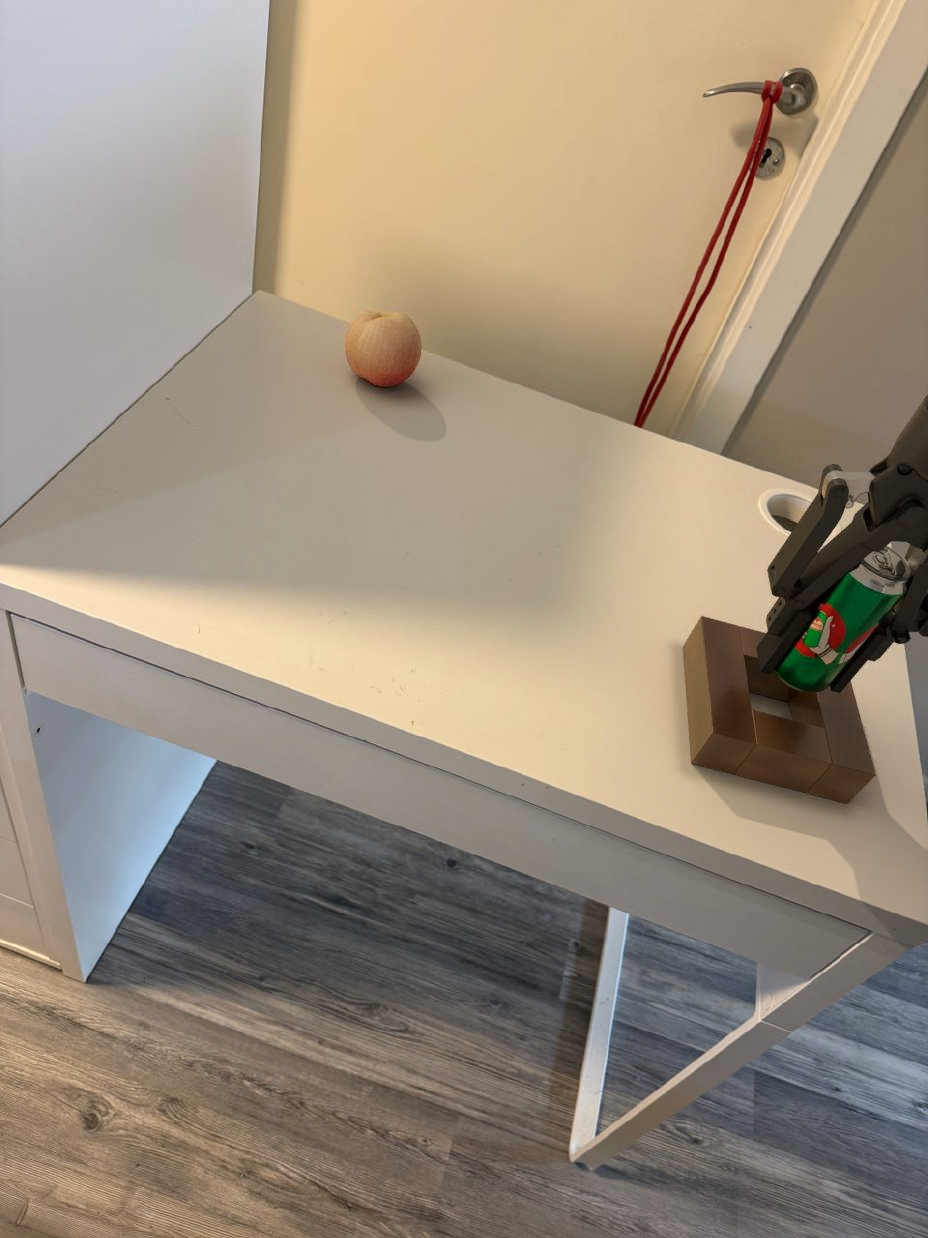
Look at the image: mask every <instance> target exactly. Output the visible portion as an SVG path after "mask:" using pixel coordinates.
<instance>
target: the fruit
mask: <svg viewBox="0 0 928 1238" xmlns="http://www.w3.org/2000/svg"><path fill="white" fill-rule="evenodd" d="M422 348H423V346H422V339H421V335H420V332H419V329H418V328H417V325H416V324H415V323H414V321H413V319H412V318H411V317H410V316H409V315H407V314H406V313H403V312H400V311H377V312H376V311H375V312H374V311H365V312H362V313H360V314H358V315H357V317H356V318H354V319H353V320H352V322H351V324H350V325H349V327H348V329H347V331H346V334H345V341H344V351H345V358H346V360H347V364H348V366H349V367H350V369H351V371H352V373H354V374H355V375H356V376H358V377H360V378H361V379H365V380H366V381H368V382H369V383H370V384H371V385H374V386H378V387H381V388H382V387H383V388H384V387H385V388H387V387H388V388H389V387H395V386H398V385H399V384H402V383H404V382H405V381H407V379H409V378H410V377H411V376H412V375H413V374H414V372H415V370H416V369H417V367H418V366H419V363H420V361H421V357H422Z"/></svg>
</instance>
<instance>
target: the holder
mask: <svg viewBox="0 0 928 1238" xmlns="http://www.w3.org/2000/svg"><path fill="white" fill-rule="evenodd" d="M766 633H767V632H763V631H760V630H757V629H753V628H749V627H746V626H742V625H737V624H734V623H730V622H726V621H723V620H718V619H715V618H711V617H707V616H703V615H700V617H699V618H698V620H697V622H696V624H695V626H694V628H692V630H691V632H690V634H689V635H688V637H687V638H686V640H685V642H684V644H683V646H682V651H683V652H682V653H683V667H684V668H683V670H684V682H685V695H686V709H687V711H686V712H687V723H688V725H687V726H688V736H689V751H690V752H689V753H690V763H691V764H692V765H696V766H701V767H704V768H708V769H712V770H715V771H720V772H723V773H727V774H731V775H735V776H738V777H743V778H746V779H750V780H755V781H759V782H762V783H765V784H769V785H774V786H777V787H781V788H786V789H788V790H793V791H797V792H801V793H805V794H809V795H813V796H817V797H820V798H823V799H824V798H825V799H827V800H828V799H829V800H832V801H836V802H840V803H844V804H850V802H852V800H853V799H854V798H856V796H857V795H858V794H859V793H860V792H861V791H863V789H864V788H865V787H866V786H867V785H868V784H869V783H870V782H872V780H873V779H874V778H875V777H876V776H877V774H876V770H875V766H874V763H873V758H872V754H871V752H870V748H869V744H868V740H867V736H866V733H865V729H864V725H863V720H862V717H861V714H860V710H859V706H858V702H857V698H856V694H855V691H854V687H853V684H852V680H851V681H850V682H849V683H848V684H847V686H846V687H845V688H844V689H843V690H842V692H841V693H837V692H834V691H831V689H830V686H829V687H828V688H827V689H826V690H824V691H821V692H814V693H807V692H801V691H798V690H795V689H793V688H791V687H789V686H788V685H786V684H785V683H784V682H782V681H781V680H780V679H779V678H778V677H777V675H776V674H775V672H774V671H773V670H772V672H771V673H770V674H766V673H762V672H760V667H759V661H758V654H757V648H756V647H757V646H758V644H759V643H760V641H761V640H762V639H763V637H764V636H765V634H766ZM750 693H753V694H756V695H760V696H764V697H767V698H772V699H775V700H779V701H782V702H787V703H789V709H790V713H791V718H792V719H790V718H786V717H783V716H779V715H775V714H772V713H767V712H764V711H760V710H756V709H752V702H751V695H750Z"/></svg>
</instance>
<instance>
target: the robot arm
mask: <svg viewBox="0 0 928 1238" xmlns="http://www.w3.org/2000/svg"><path fill="white" fill-rule="evenodd" d="M821 472H822V473H821V477H820V481H819V486H818V490H817V493H816V495H815V496H814V498H813V499H812V501H811V502H810V504H809V506H808V507H807V509H806V510H805V512H804V513H802V514H803V515H801V518H800V519H799V521H798V522H797V524H796V525H795V526H794V528H793V529H792V531H791V532H790V534H788V536H787V538H786V540H785V541H784V543H783V544H782V545H781V547H780V548H779V550H778V551H777V553H776V555H775V556H774V558H773V559H772V561H771V562H770V563H769V565H768V566H767V568H766V571H767V577H768V583H769V587H770V592H771V595H772V596H773V597H775V598H777V600H776V601H775V603H774V604H773V606H772V607H771V608H770V610H769V611H768V613H767V614H766V617H765V622H766V628H767V631H766V632H765V633H766V634H765V636H764V637H763V639H762V640H761V641H760V643H759V644H758V646H757V647H756V648H757V654H758V661H759V667H760V672H762V673H766V674H770V673H771V672H772V670H773V669H774V668H775V666H776V665H777V664H778V662H779V661H780V659H781V658H782V657H783V655H784V654H785V653H786V651H787V650H788V649H789V647H790V646H791V645H792V643H793V642H794V640H795V639H796V638H797V636H798V635H799V634H800V632H801V631H802V630H803V628H804V627H805V625H806V624H807V623H808V621H809V620H810V619H811V617H812V613H811V609H810V605H809V604H811V603H812V602H813V601H814V600H815V599H817V598H818V597H819V596H820V595H821V594H823V593H824V592H825V591H826V590H827V589H829V588H830V587H831V586H832V585H833V584H834V583H836V582H837V581H838V580H839V579H840V578H842V577H843V576H844V575H845V574H846V573H848V572H849V571H850V570H851V569H852V568H853V567H855V566H856V565H857V564H858V563H859V562H861V561H862V560H863V559H864V558H865V557H867V556H868V555H869V554H870V553H871V552H879V551H881V550H882V549H883V548H885V547H886V546H889V544H891V543H892V542H896V543H897V542H900V543H907V544H909V546H908V548H907V550H906V553H905V555H904V558H905V559H906V560H907V562H908V565H909V568H910V570H911V573H912V576H911V578H910V579H909V580H908V591H907V592H906V593H905V595H904V596H903V597H902V598H901V600H900V601H899V602H898V603H897V604H896V606H895V607H894V608H893V609H892V610H891V612H890V613H889V614H888V615H887V617H886V618H885V619H884V620H883V621H882V623H881V624H880V625H879V626H878V628H877V629H876V630H875V631H874V632H873V634H872V635H871V636H870V637H869V638H868V640H867V641H866V642H865V643H864V645H863V646H862V647H861V648H860V649H859V651H858V652H857V653H856V654H855V655H854V657H853V658H852V659H851V660H850V662H849V663H848V664H847V665H846V666H845V668H844V669H843V670H842V671H841V673H840V674H839V675H838V676H837V677H836V679H835V680H834V681H833V682H832V683H831V685H830V689H831V691H834V692H837V693H841V692H842V690H843V689H844V688H845V687H846V686H847V684H848V683H849V682H850V681H851V682H852V679H854V678H855V677H856V675H857V674H858V673H859V672H860V670H861V669H862V668H863V667H864V666H865V664H866V663H867V662H868V661H869V662H876V661H878V660H879V659H881V658H882V656H884V655H885V653H887V651H888V650H889V649H890V648H891V647H892V645H893V644H897V645H904V644H907V643H909V642H911V639H912V637H911V635H910V633H918V634H919V635H920V636H921V637H924V638H928V394H926V395H925V396H924V398H923V399H922V401H921V402H920V404H919V405H918V406H917V408H916V410H915V411H914V413H913V414H912V416H911V417H910V419H909V420H907V422H906V424H905V425H904V427H903V429H901V431H900V433H899V434H898V435H897V438H896V440H895V442H894V444H893V446H892V448H891V450H890V452H889V453H888V455H886V457H884V458H883V459H881V460H879V461H878V462H877V463H875V464H873V465H872V467H870V468H869V470H868V471H843V468H842V466H840V464H837V463H831V464H827V465H826V466H825V467H824V468H823V469H822V471H821ZM863 494H867V500H868V501H867V502H866V503H865V504H864V505H863V506H861V508H859V509H858V510H857V511H856V512H855V513H854V515H853V517H852V520H851V522H850V523H849V524H847V526H845V527H844V528H843V529H842V530H840V532H838V533H837V535H835V536H834V537H833V538H832V539H831V540H830V541H829V542H827V543H826V544H825V542H826V541H827V540H828V538H829V537H830V535H831V534H832V533H833V531H834V530H835V529H836V527H837V526H838V524H839V523H840V521H841V520H842V518H843V515H844V512H845V511H846V510H850V509H852V508H853V507H854V505H855V503H856V501H857V499H858V498H859V497H860V496H861V495H863ZM824 544H825V545H824ZM823 545H824V546H823Z"/></svg>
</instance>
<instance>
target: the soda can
mask: <svg viewBox="0 0 928 1238" xmlns="http://www.w3.org/2000/svg"><path fill="white" fill-rule="evenodd" d="M911 576H912V573H911V570H910V568H909V565H908V562H907V560H906V559H905V556H903V555H902V554H901V553H899V552H898V551H897V550H895V549H894V548H893V547H890V546H889V545H887V546H886V547H885V548H883V549H882V550H881V551H879V552H871V553H870V554H869V555H868V556H867V557H865V558H864V559H863V560H862V561H861V562H859V563H858V564H857V565H856V566H855V567H853V568H852V569H851V570H850V571H849V572H848V573H846V574H845V575H844V576H843V577H842V578H840V579H839V580H838V581H837V582H836V583H834V584H833V585H832V586H831V587H830V588H829V589H827V590H826V591H825V592H824V593H823V594H821V595H820V596H819V597H818V598H817V599H815V600H814V601H813V602H812V603H811V604H809V605H810V609H811V613H812V617H811V619H810V620H809V621H808V623H807V624H806V625H805V627H804V628H803V630H802V631H801V632H800V634H799V635H798V636H797V638H796V639H795V640H794V642H793V643H792V645H791V646H790V647H789V649H788V650H787V651H786V653H785V654H784V655H783V657H782V658H781V659H780V661H779V662H778V664H777V665H776V666H775V668H774V669H773V671H774V672H775V674H776V675H777V677H778V678H779V679H780V680H781V681H782V682H784V683H785V684H786V685H788V686H789V687H791V688H793V689H795V690H798V691H801V692H807V693H814V692H821V691H824V690H826V689H827V688H828V687H829V686H830V685H831V683H832V682H833V681H834V680H835V679H836V677H837V676H838V675H839V674H840V673H841V671H842V670H843V669H844V668H845V666H846V665H847V664H848V663H849V662H850V660H851V659H852V658H853V657H854V655H855V654H856V653H857V652H858V651H859V649H860V648H861V647H862V646H863V645H864V643H865V642H866V641H867V640H868V638H869V637H870V636H871V635H872V634H873V632H874V631H875V630H876V629H877V628H878V626H879V625H880V624H881V623H882V621H883V620H884V619H885V618H886V617H887V615H888V614H889V613H890V612H891V610H892V609H893V608H894V607H895V606H896V604H897V603H898V602H899V601H900V600H901V598H902V597H903V596H904V595H905V593H906V592H907V591H908V580H909V579H910V578H911Z"/></svg>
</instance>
